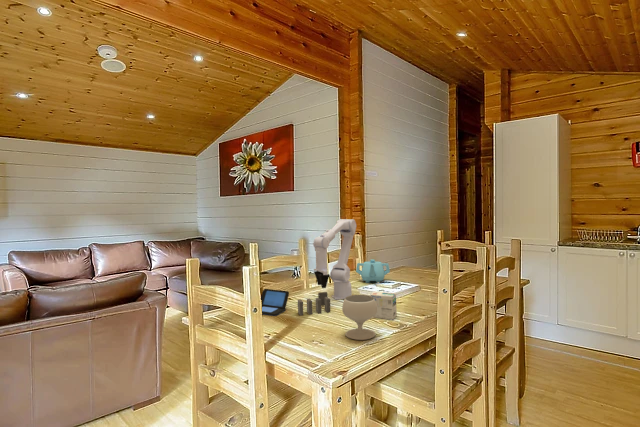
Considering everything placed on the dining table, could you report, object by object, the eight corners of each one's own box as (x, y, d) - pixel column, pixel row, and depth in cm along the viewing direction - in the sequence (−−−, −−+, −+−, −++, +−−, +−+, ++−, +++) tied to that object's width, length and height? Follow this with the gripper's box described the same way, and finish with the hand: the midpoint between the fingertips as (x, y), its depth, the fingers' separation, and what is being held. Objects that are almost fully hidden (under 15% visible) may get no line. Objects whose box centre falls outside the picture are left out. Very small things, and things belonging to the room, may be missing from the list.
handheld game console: (248, 313, 185) (248, 294, 184) (264, 305, 197) (263, 288, 196) (276, 316, 178) (275, 297, 178) (290, 309, 190) (289, 290, 190)
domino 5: (327, 309, 186) (327, 296, 186) (330, 312, 182) (330, 299, 182) (324, 310, 186) (324, 297, 186) (327, 312, 182) (326, 299, 181)
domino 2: (310, 311, 184) (309, 298, 184) (312, 314, 180) (312, 300, 179) (307, 312, 183) (306, 298, 183) (309, 314, 179) (308, 301, 179)
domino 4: (318, 304, 195) (318, 292, 195) (326, 304, 196) (326, 291, 196) (319, 305, 194) (319, 293, 193) (327, 304, 195) (327, 292, 194)
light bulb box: (396, 315, 175) (396, 292, 174) (393, 320, 168) (393, 296, 168) (374, 313, 179) (374, 290, 179) (370, 317, 173) (370, 294, 172)
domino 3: (319, 310, 185) (318, 297, 185) (321, 313, 181) (321, 299, 181) (315, 311, 185) (315, 298, 184) (318, 313, 180) (318, 300, 180)
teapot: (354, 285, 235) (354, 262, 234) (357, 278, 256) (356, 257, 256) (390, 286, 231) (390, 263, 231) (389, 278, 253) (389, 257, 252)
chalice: (353, 344, 142) (352, 305, 141) (337, 332, 155) (336, 296, 154) (384, 337, 148) (383, 300, 147) (366, 326, 160) (365, 292, 160)
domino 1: (301, 312, 183) (300, 299, 182) (303, 315, 178) (303, 301, 178) (298, 313, 182) (297, 299, 182) (300, 315, 178) (299, 302, 178)
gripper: (310, 258, 200) (310, 284, 200) (317, 262, 186) (318, 290, 186) (323, 257, 202) (323, 283, 202) (331, 262, 188) (331, 289, 188)
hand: (321, 286), depth 194 cm, fingers open, 7 cm apart
